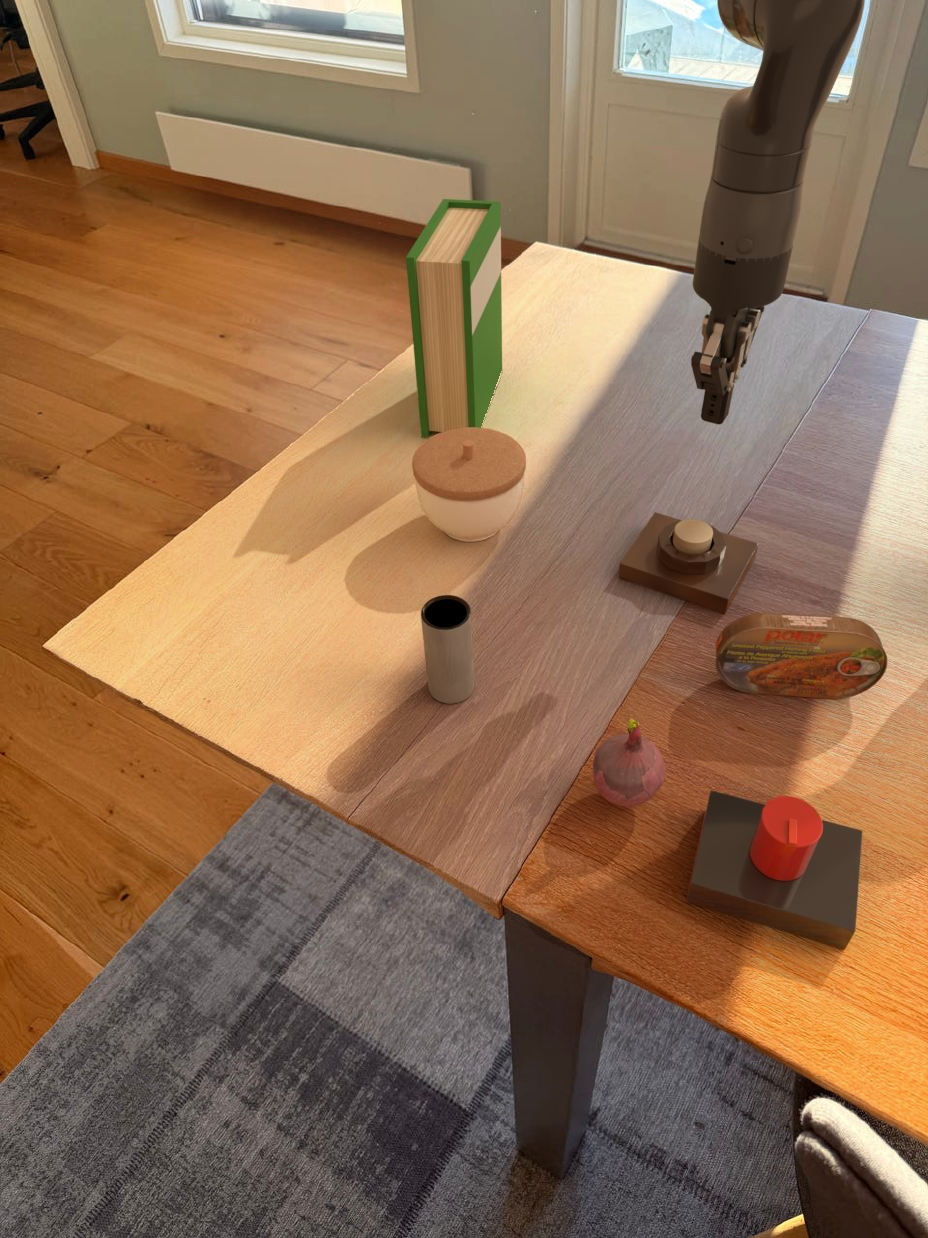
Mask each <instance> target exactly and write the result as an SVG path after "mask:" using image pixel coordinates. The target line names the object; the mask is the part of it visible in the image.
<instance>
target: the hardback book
mask: <svg viewBox="0 0 928 1238" xmlns="http://www.w3.org/2000/svg"><path fill="white" fill-rule="evenodd" d="M501 203H502V202H501V201H500V200H499V201H498V200H497V201H495V200H477V199H476V200H474V199H453V198H442V200H441V202H440V203H439V204H438V206H437V208H436V210H434V213H433V214H432V215H431V217H430V219H429V220H428V222H427V223H426V225H425V226H424V228H423V230H422V231H421V233H420V235H419V236H418V237H417V239H416V240H415V242H414V244H413V245H412V247H411V248H410V250H409V252H408V253H407V255H406V256H405V263H406V274H407V275H406V276H407V285H408V297H409V298H408V299H409V309H410V320H411V333H412V342H413V343H412V344H413V355H414V356H413V357H414V367H415V368H414V369H415V377H416V378H415V379H416V381H415V382H416V390H417V392H416V393H417V404H418V414H419V416H418V417H419V427H420V438H426V437H428V438H430V434H431V432H438V433H441V432H444V431H448V430H452V429H457V428H465V427H477V428H481V426H482V427H483V425H482V423H483V420H484V417H485V414H486V413H487V414H488V412H487V410H488V407H489V404H490V401H491V398H492V396H493V393H494V390H495V387H496V384H497V382H498V379H499V376H500V373H501V371H502V372H503V315H502V314H503V313H502V312H503V310H502V309H503V308H502V307H503V305H502V300H503V299H502V224H501V223H502V219H501V217H502V216H501V215H502V212H501V211H502V210H501V208H502V207H501ZM490 405H491V404H490ZM489 408H490V407H489ZM488 411H489V410H488ZM485 418H486V417H485ZM484 421H485V420H484ZM483 424H484V423H483Z"/></svg>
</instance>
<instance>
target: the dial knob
mask: <svg viewBox="0 0 928 1238" xmlns="http://www.w3.org/2000/svg"><path fill="white" fill-rule="evenodd" d="M822 820H823V819H822V817H821V815H820V813H819V812H818V811H817V809H815V807H814V806H813V805H812V804H810V803H809V802H807V801H806V800H804V799H802V798H798V797H795V796H791V795H782V796H777V797H774V798H771V799H770V800H768V801H767V802H766V803H765V806H764V808H763V810H762V813H761V816H760V819H759V822H758V824H757V827H756V830H755V833H754V836H753V839H752V842H751V845H750V856H751V859H752V861H753V863H754V865H755V866H756V867H757V869H758V870H759V871H760V872H762V873H763V874H764V875H766V876H768V877H770V878H772V879H775V880H780V881H790V880H794V879H797V878H798V877H800V876H801V875H803V873H804V872H805V871H806V869H807V867H808V864H809V862H810V860H811V858H812V855H813V853H814V851H815V848H816V846H817V844H818V842H819V839H820V837H821V835H822V832H823V823H822Z"/></svg>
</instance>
